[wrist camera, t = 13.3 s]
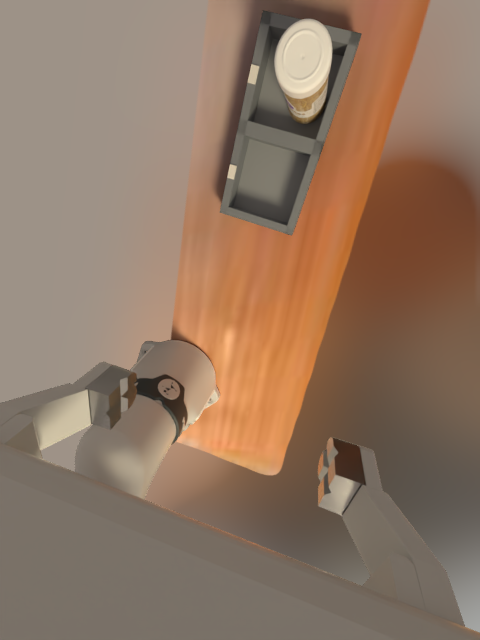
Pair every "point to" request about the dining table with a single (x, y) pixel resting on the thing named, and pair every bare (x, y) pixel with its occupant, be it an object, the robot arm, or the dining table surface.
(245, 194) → the grey divided tray
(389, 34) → the dining table surface
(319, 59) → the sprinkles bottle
